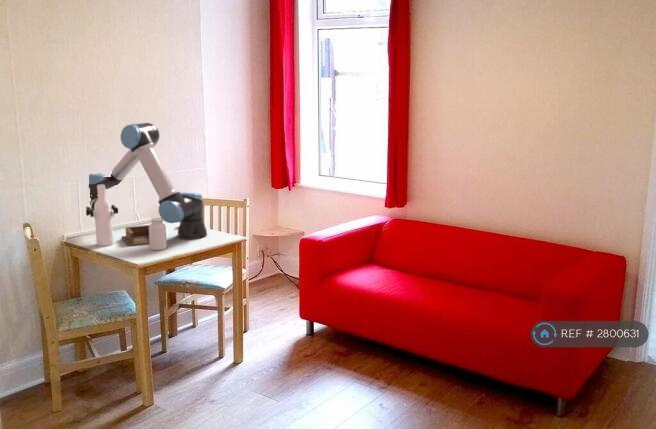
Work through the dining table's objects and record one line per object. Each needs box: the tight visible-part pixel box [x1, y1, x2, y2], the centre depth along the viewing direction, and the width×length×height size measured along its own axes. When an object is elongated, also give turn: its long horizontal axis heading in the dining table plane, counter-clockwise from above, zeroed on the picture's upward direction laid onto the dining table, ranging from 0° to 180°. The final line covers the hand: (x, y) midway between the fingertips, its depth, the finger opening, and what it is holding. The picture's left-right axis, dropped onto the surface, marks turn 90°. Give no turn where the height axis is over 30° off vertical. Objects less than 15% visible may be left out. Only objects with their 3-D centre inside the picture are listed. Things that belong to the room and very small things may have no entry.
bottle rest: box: [121, 224, 150, 247], centre depth 310 cm, size 18×18×6 cm
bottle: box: [94, 185, 114, 247], centre depth 299 cm, size 8×8×30 cm
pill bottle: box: [148, 217, 167, 251], centre depth 295 cm, size 8×8×15 cm
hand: (104, 214), depth 295 cm, fingers closed on bottle, 8 cm apart
